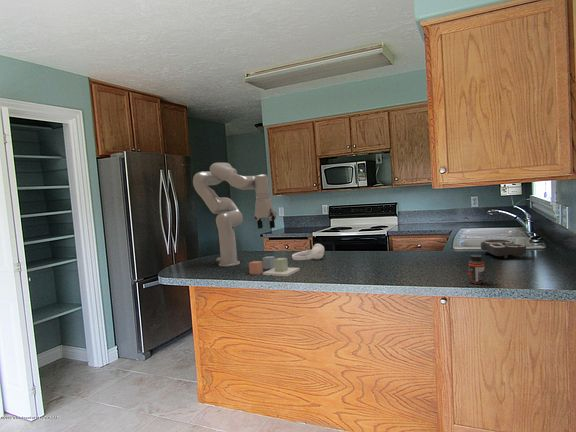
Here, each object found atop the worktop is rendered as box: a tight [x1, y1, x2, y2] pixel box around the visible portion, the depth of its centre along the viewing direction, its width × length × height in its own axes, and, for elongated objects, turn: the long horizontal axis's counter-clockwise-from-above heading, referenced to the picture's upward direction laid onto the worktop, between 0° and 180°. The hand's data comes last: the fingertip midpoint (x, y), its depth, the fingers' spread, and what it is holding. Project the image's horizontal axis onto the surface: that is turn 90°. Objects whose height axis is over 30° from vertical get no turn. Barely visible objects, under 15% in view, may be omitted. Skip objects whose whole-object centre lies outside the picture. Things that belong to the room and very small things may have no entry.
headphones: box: [291, 243, 325, 261], centre depth 245 cm, size 19×8×20 cm
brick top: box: [248, 260, 264, 275], centre depth 213 cm, size 5×5×6 cm
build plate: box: [262, 257, 301, 277], centre depth 210 cm, size 14×14×7 cm
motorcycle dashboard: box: [480, 238, 527, 261], centre depth 214 cm, size 26×16×7 cm, turn 175°
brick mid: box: [262, 255, 276, 270], centre depth 224 cm, size 5×5×6 cm
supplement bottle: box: [468, 254, 486, 285], centre depth 165 cm, size 6×6×11 cm
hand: (266, 228), depth 223 cm, fingers open, 9 cm apart
